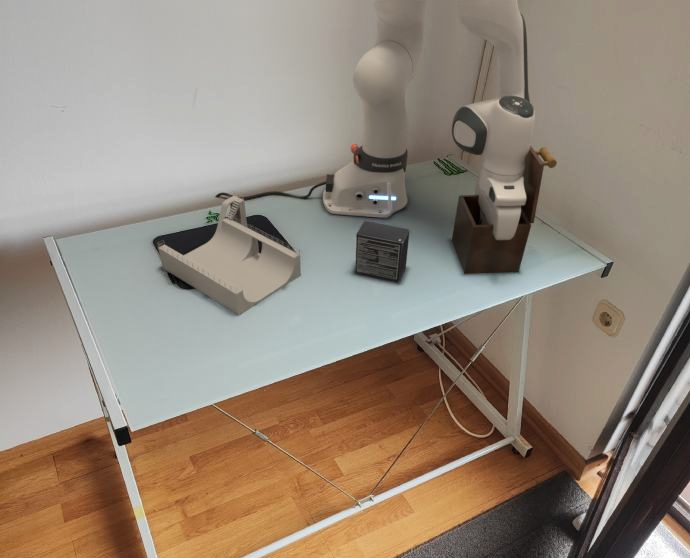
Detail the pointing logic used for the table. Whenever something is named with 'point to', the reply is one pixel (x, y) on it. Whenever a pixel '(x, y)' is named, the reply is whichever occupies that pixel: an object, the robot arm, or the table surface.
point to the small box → (381, 251)
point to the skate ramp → (234, 262)
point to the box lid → (534, 178)
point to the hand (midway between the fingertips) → (487, 235)
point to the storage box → (486, 241)
